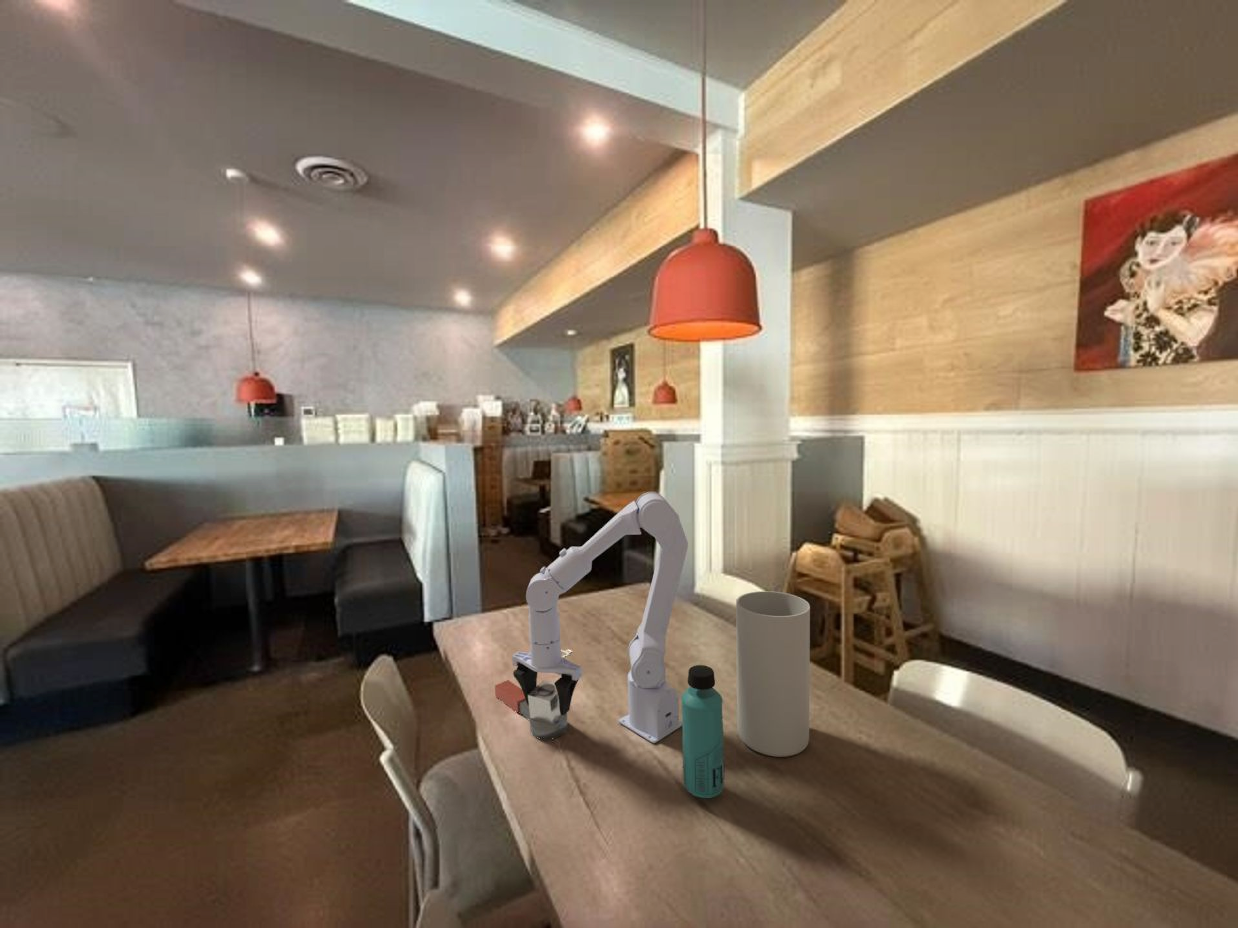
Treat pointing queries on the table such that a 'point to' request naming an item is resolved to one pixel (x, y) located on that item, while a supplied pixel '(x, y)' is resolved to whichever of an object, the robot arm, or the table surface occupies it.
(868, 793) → the table surface
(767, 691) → the cylinder vase
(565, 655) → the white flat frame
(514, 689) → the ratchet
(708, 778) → the beverage bottle
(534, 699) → the cube block
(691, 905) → the table surface
